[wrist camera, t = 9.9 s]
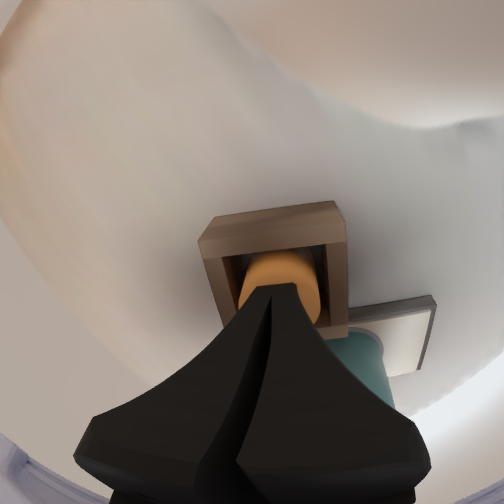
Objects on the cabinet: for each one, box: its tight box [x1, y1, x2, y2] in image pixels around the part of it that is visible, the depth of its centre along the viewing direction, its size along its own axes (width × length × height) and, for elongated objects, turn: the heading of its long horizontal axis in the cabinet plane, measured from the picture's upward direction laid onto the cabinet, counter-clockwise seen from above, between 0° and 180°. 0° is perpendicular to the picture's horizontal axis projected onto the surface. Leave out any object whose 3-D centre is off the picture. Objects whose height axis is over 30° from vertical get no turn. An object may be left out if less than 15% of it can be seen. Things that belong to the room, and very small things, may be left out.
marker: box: [324, 332, 395, 409], centre depth 10 cm, size 4×4×7 cm
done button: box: [239, 246, 320, 324], centre depth 11 cm, size 3×3×3 cm
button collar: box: [197, 201, 348, 340], centre depth 11 cm, size 5×5×2 cm
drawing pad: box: [348, 295, 437, 377], centre depth 14 cm, size 10×5×1 cm, turn 101°
